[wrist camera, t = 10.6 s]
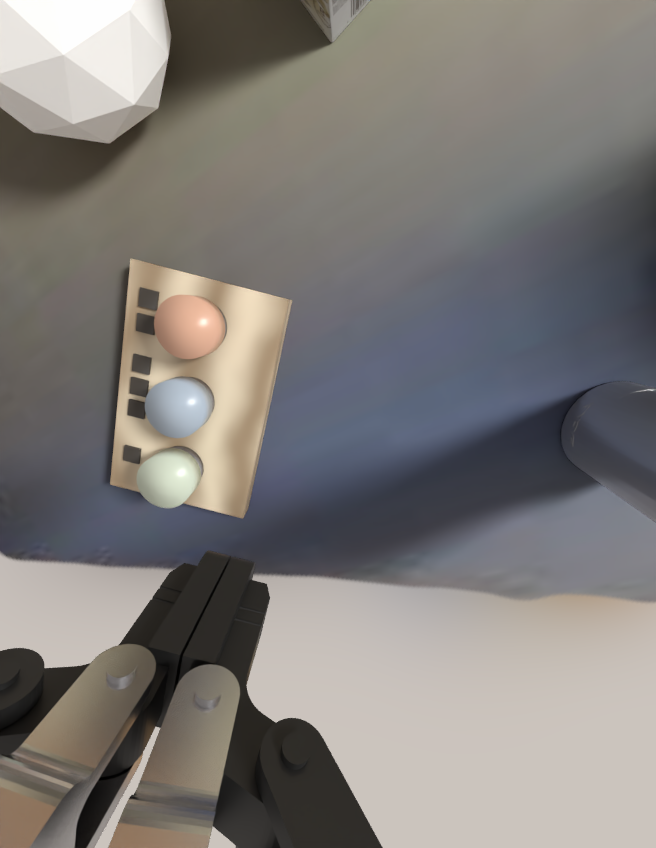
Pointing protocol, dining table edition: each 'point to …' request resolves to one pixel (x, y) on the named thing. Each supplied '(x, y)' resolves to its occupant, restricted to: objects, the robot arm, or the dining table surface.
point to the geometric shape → (82, 64)
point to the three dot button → (178, 406)
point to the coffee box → (334, 14)
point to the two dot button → (189, 326)
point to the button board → (220, 374)
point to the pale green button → (168, 477)
